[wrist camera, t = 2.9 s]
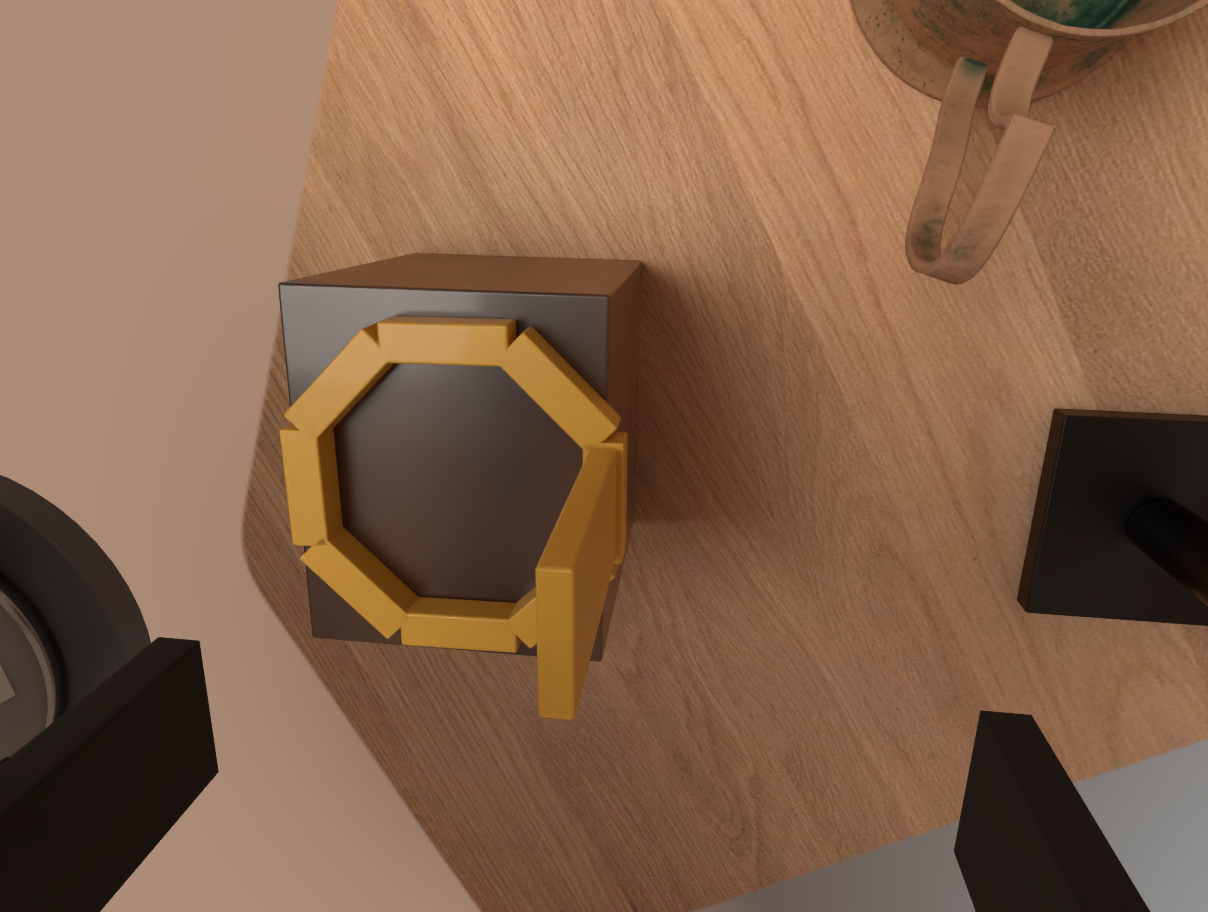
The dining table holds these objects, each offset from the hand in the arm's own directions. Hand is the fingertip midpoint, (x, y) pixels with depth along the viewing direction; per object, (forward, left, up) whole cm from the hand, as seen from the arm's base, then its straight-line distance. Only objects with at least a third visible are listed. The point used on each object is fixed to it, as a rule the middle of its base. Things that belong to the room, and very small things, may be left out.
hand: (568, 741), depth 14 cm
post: (+21, -4, -24) cm, 32 cm away
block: (-6, 0, -24) cm, 25 cm away
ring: (-5, 0, -12) cm, 13 cm away
